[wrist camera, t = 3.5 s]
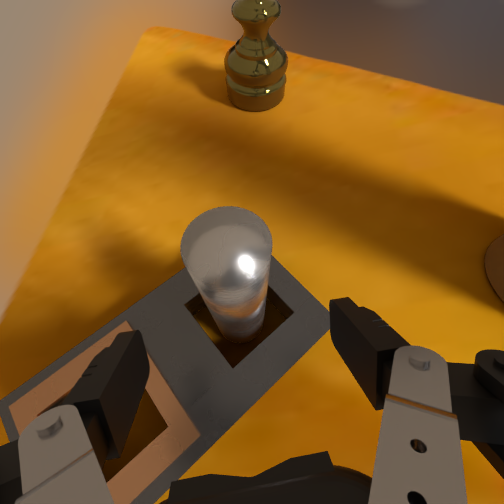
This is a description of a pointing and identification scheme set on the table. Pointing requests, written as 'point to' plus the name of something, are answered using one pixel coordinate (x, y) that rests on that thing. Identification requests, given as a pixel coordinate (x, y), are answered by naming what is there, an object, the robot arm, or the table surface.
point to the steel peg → (230, 268)
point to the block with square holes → (180, 376)
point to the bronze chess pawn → (256, 58)
